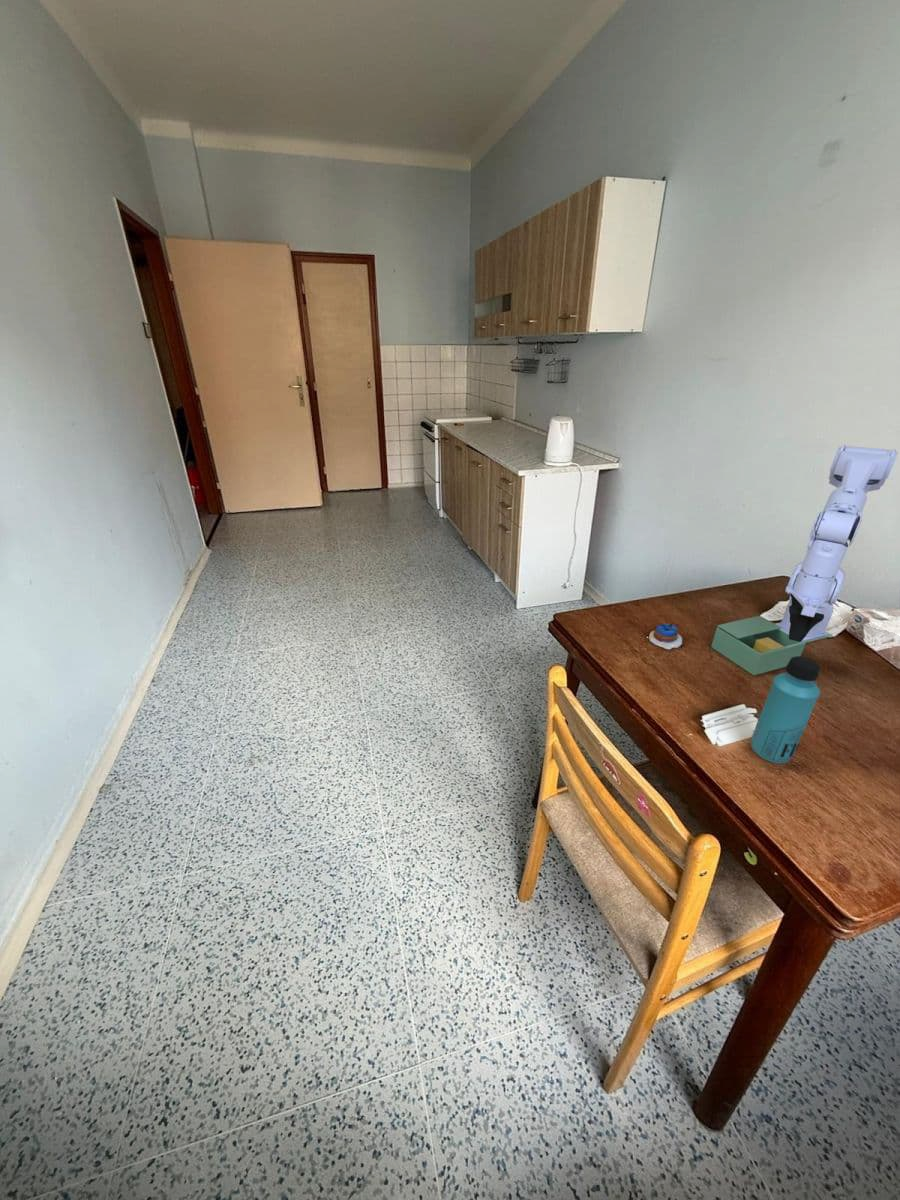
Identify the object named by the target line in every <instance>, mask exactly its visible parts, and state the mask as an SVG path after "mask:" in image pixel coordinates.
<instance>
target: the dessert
mask: <svg viewBox="0 0 900 1200" xmlns="http://www.w3.org/2000/svg"><path fill="white" fill-rule="evenodd" d="M648 639H649V642H651V643H652V644H653V645H655V646H657V647H661V648H664V649H666V650H671V649H673V648H674V649H678V648H679V647H680V646H682V644H683V637H682V636H681V634H679V629H678V628H677V627H676V625H674V624H673V623H660V624H658V625H657V626H656V627H655V628H654V630H652V631H650V633H649V635H648Z"/></svg>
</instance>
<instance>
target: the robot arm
mask: <svg viewBox="0 0 900 1200" xmlns="http://www.w3.org/2000/svg"><path fill="white" fill-rule="evenodd" d="M897 456H898V451H897V449H896V448H895V449H894V448H893V449H885V448H874V447H864V446H863V447H861V446H852V445H846V444H842V445H841V446H838V448H837V450H836V453H835V456H834V458H833V460H832V463H831V465H830V466H831V467H830V468H829V476H828V480H829V481H828V484H830V485H831V486H834V487H835V489H834V490H833V491H831V492H830V494H829V496H828V498H827V500H826V502H825V505H824V507H823V509H822V511H819V512H818V514H817V515H816V517H815V520H814V522H813V525H812V528H811V530H810V536H809V541H808V544H807V547H806V548H807V549H806V552H805V555H804V558H803V561H801V562H799V563H798V564H796V565H795V567H794V569H793V571H792V573H791V575H790V577H789V581H788V583H787V585H786V587H785V592H786V594H787V595H789V598H788V599H789V600H788V603H787V605H786V609H785V611H784V613H783V617H782V619H781V621H780V622H776V623H775V624H776V625H778V626H780V627H782V628H781V629H780V630H782V631H784V632H785V633H787V634H789V639H790V640H794V641H798V642H801V641H802V642H803V641H807V640H811V639H815V638H819V637H823V636H827V635H829V632H827V631H826V630H827V627H828V625H829V623H830V620H831V618H832V615H833V613H834V604H836V603H837V600H838V598H839V595H840V593H841V591H842V588H843V586H844V581H845V578H846V575H845V574H846V572H845V571H844V570H843V569H842V568H841V566H842V563H843V560H844V558H845V555H846V553H847V550H848V548H849V547H851V545H852V544H853V543H854V541H855V539H856V537H857V534H858V532H859V529H860V527H861V524H862V521H863V510H864V508H865V505H866V502H867V500H868V499H867V498H868V496H867V494H868V492H873V491H879V490H880V489H881V487H883V486H884V485H885V482H886V480H887V479H888V478H889V476H890V473H891V471H892V469H893V466H894V464H895V462H896V460H897ZM848 541H849V543H848ZM825 629H826V630H825Z"/></svg>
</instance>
